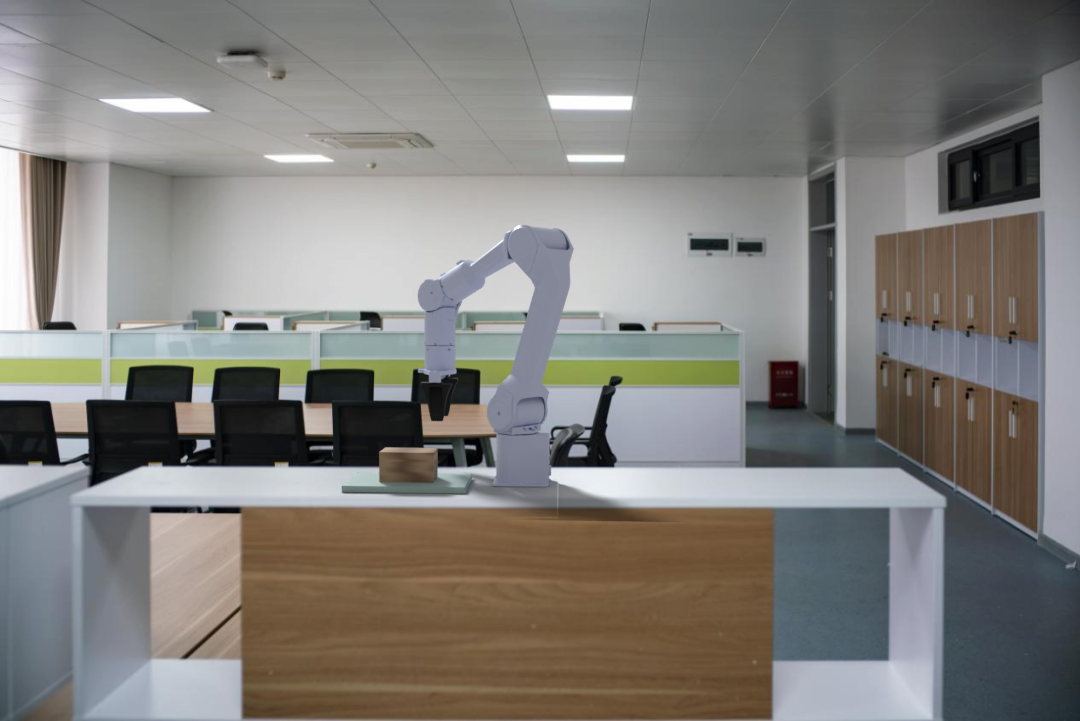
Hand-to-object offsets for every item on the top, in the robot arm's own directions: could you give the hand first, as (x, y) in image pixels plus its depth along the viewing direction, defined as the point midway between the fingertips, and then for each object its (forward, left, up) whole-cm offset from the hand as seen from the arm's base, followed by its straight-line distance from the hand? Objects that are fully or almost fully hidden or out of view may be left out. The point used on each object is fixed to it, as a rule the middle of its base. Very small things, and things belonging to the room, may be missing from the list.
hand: (439, 418), depth 165 cm
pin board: (+3, +16, -9) cm, 19 cm away
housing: (+3, +16, -8) cm, 18 cm away
